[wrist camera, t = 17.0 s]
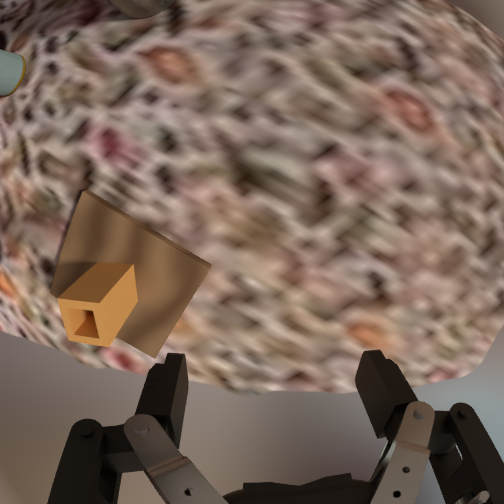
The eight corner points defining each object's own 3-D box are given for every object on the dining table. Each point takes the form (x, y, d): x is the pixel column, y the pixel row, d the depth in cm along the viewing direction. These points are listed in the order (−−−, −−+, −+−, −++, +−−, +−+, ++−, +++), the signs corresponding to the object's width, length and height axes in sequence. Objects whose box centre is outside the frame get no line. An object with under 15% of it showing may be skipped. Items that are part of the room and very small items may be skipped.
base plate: (54, 288, 41) (33, 307, 35) (88, 189, 36) (62, 198, 30) (157, 352, 45) (146, 379, 39) (211, 264, 40) (205, 285, 34)
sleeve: (103, 298, 40) (68, 340, 30) (97, 262, 38) (57, 298, 28) (138, 301, 40) (109, 347, 30) (133, 263, 38) (99, 303, 28)
